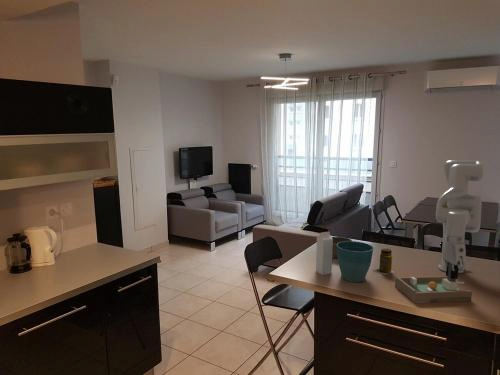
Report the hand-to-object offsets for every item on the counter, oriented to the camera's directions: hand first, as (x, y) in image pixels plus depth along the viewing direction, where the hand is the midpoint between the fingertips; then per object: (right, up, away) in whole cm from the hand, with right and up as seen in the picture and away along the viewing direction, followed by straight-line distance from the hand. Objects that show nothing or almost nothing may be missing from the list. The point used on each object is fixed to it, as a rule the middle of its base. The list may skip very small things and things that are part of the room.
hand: (451, 276), depth 167 cm
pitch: (-9, -8, 0) cm, 12 cm away
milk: (-54, -4, +26) cm, 60 cm away
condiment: (-21, -4, +28) cm, 35 cm away
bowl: (-39, -1, +54) cm, 67 cm away
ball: (-9, -4, 0) cm, 10 cm away
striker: (+2, -5, +1) cm, 6 cm away
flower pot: (-40, -5, +18) cm, 44 cm away
